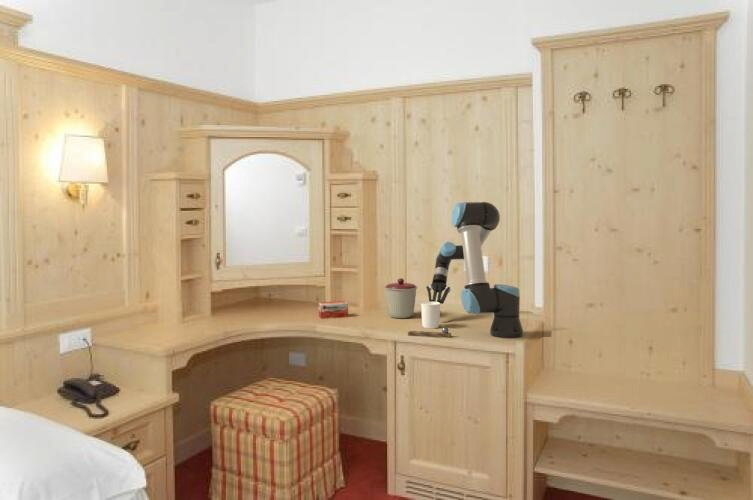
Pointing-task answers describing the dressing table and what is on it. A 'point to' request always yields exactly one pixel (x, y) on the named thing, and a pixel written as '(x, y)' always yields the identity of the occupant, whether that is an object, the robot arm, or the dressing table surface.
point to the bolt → (445, 330)
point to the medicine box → (333, 309)
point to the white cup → (430, 314)
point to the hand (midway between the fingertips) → (434, 313)
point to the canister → (400, 299)
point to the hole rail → (428, 334)
